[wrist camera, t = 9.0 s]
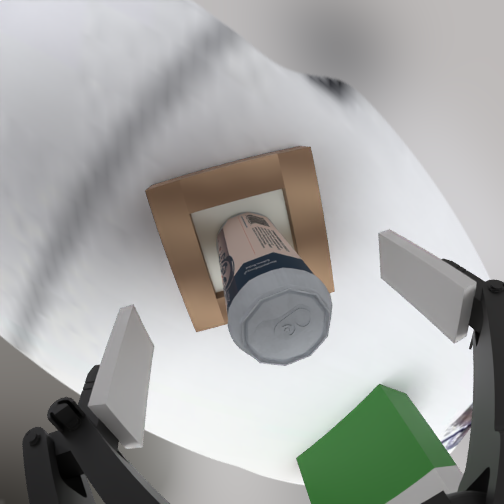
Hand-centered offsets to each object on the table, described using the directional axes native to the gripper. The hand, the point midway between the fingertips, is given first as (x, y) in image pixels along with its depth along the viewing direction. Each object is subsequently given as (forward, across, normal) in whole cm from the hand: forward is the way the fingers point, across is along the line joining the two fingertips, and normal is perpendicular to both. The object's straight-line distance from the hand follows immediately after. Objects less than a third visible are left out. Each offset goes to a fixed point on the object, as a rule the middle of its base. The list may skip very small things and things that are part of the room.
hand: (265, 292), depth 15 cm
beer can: (+9, 0, 0) cm, 9 cm away
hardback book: (+10, +8, -34) cm, 36 cm away
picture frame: (+11, 0, -1) cm, 11 cm away
